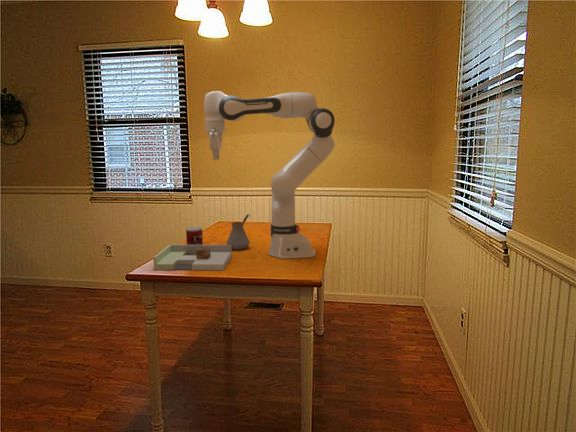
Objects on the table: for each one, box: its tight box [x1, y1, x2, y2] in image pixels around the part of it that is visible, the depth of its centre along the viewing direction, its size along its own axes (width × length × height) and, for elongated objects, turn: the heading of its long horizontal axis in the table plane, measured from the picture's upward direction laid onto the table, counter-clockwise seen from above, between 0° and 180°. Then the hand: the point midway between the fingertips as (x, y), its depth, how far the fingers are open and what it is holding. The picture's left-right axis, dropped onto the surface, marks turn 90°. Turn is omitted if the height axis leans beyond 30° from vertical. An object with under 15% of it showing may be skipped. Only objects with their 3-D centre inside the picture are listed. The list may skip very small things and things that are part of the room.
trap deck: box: [152, 244, 233, 271], centre depth 175 cm, size 29×21×6 cm
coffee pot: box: [226, 213, 251, 251], centre depth 204 cm, size 21×12×15 cm, turn 164°
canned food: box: [185, 226, 204, 245], centre depth 196 cm, size 8×8×11 cm
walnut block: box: [196, 247, 211, 259], centre depth 175 cm, size 5×5×4 cm
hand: (216, 159), depth 182 cm, fingers open, 8 cm apart
